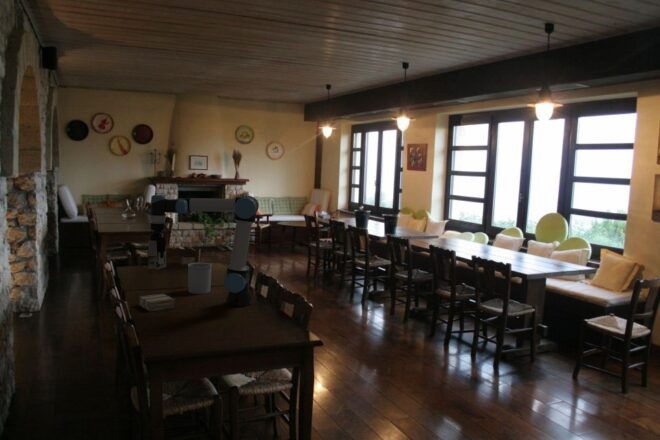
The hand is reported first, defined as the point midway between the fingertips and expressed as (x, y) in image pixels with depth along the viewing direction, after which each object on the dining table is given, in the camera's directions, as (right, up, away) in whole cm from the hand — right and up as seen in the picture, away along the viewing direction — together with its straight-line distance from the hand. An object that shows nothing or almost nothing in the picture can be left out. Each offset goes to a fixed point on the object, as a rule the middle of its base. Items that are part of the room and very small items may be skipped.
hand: (157, 262), depth 304 cm
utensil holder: (+13, -22, +43) cm, 50 cm away
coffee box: (0, -3, 0) cm, 3 cm away
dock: (-1, -25, +2) cm, 26 cm away
